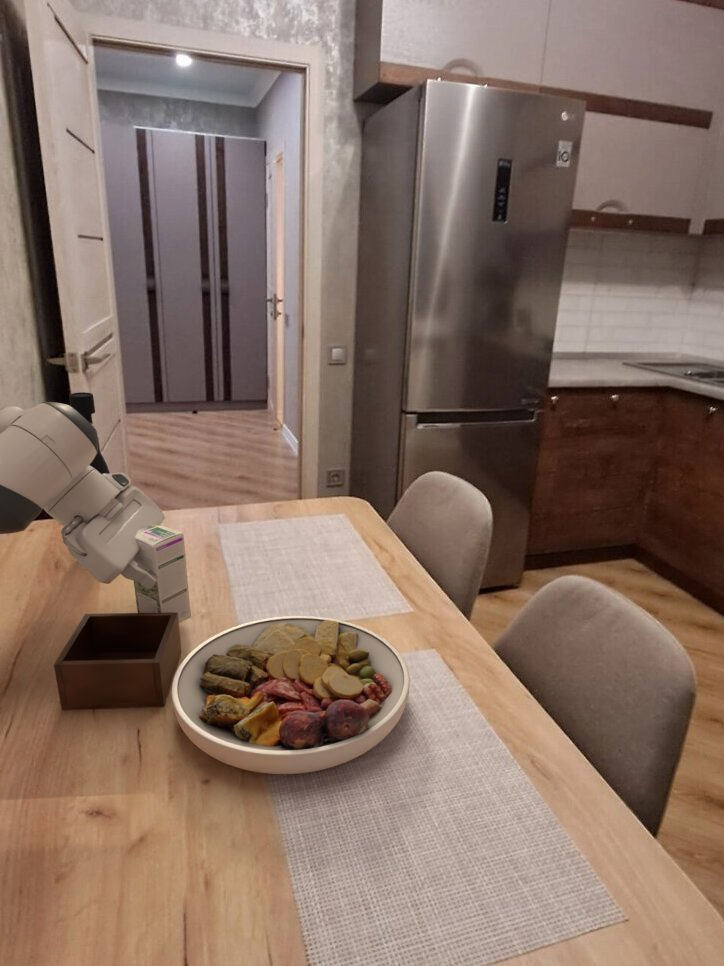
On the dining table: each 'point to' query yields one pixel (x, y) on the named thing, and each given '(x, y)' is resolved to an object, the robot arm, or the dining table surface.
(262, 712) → the bowl
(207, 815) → the dining table surface
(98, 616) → the box
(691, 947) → the dining table surface
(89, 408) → the black water bottle
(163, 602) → the syrup box
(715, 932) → the dining table surface
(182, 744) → the dining table surface
